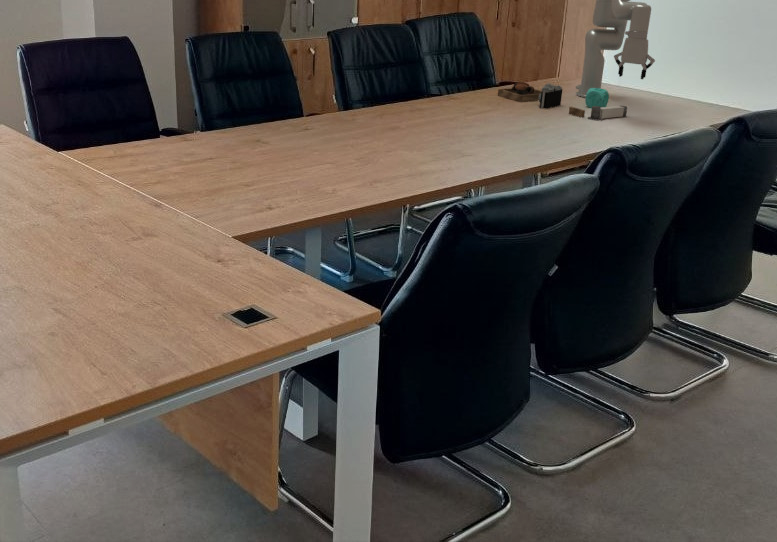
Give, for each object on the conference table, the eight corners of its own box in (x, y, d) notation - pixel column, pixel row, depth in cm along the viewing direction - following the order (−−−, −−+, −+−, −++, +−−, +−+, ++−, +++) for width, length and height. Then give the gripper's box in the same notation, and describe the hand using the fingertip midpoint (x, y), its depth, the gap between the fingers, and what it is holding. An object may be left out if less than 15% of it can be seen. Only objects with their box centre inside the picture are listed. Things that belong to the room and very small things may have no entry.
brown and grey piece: (568, 113, 396) (570, 101, 394) (579, 112, 400) (581, 100, 398) (593, 121, 385) (595, 108, 383) (604, 119, 388) (606, 107, 386)
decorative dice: (584, 107, 413) (586, 89, 410) (590, 104, 419) (593, 87, 416) (600, 109, 409) (603, 92, 406) (607, 107, 415) (609, 89, 412)
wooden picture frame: (497, 95, 427) (498, 89, 426) (526, 93, 436) (527, 87, 435) (520, 102, 414) (520, 95, 413) (549, 99, 424) (550, 93, 423)
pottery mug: (506, 98, 423) (508, 81, 425) (516, 105, 431) (517, 89, 432) (529, 96, 416) (531, 79, 418) (538, 103, 424) (540, 86, 425)
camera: (549, 102, 417) (552, 80, 414) (562, 105, 413) (564, 83, 410) (532, 106, 407) (534, 84, 403) (545, 109, 403) (547, 86, 399)
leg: (602, 118, 389) (603, 109, 387) (596, 116, 391) (597, 107, 390) (627, 116, 397) (629, 107, 396) (621, 114, 400) (623, 105, 398)
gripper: (614, 33, 377) (608, 76, 383) (657, 38, 370) (650, 81, 376) (619, 32, 383) (613, 73, 389) (660, 36, 376) (654, 79, 382)
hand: (631, 77), depth 383 cm, fingers open, 8 cm apart
